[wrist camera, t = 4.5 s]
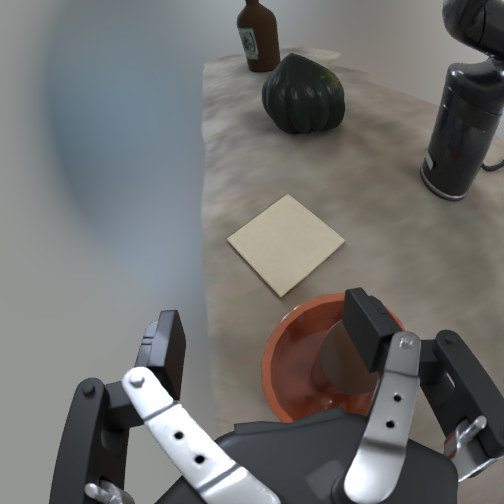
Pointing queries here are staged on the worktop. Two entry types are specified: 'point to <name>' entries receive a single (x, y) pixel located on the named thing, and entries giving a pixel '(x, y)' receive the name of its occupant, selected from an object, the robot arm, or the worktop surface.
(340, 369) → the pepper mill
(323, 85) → the squash
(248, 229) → the cloth
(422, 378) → the robot arm
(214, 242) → the worktop surface
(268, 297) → the worktop surface
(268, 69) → the olive oil
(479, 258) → the worktop surface
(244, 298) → the worktop surface
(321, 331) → the pot
